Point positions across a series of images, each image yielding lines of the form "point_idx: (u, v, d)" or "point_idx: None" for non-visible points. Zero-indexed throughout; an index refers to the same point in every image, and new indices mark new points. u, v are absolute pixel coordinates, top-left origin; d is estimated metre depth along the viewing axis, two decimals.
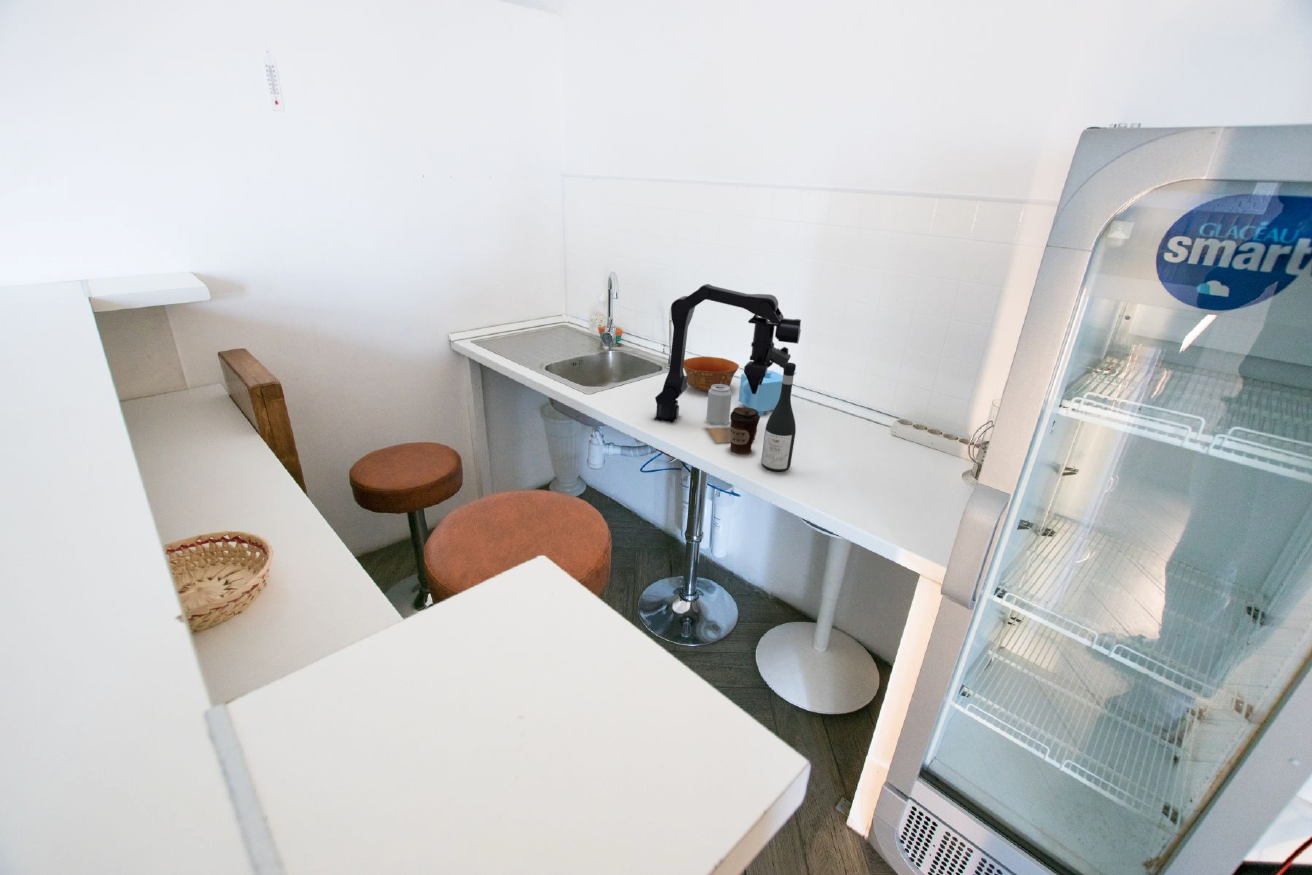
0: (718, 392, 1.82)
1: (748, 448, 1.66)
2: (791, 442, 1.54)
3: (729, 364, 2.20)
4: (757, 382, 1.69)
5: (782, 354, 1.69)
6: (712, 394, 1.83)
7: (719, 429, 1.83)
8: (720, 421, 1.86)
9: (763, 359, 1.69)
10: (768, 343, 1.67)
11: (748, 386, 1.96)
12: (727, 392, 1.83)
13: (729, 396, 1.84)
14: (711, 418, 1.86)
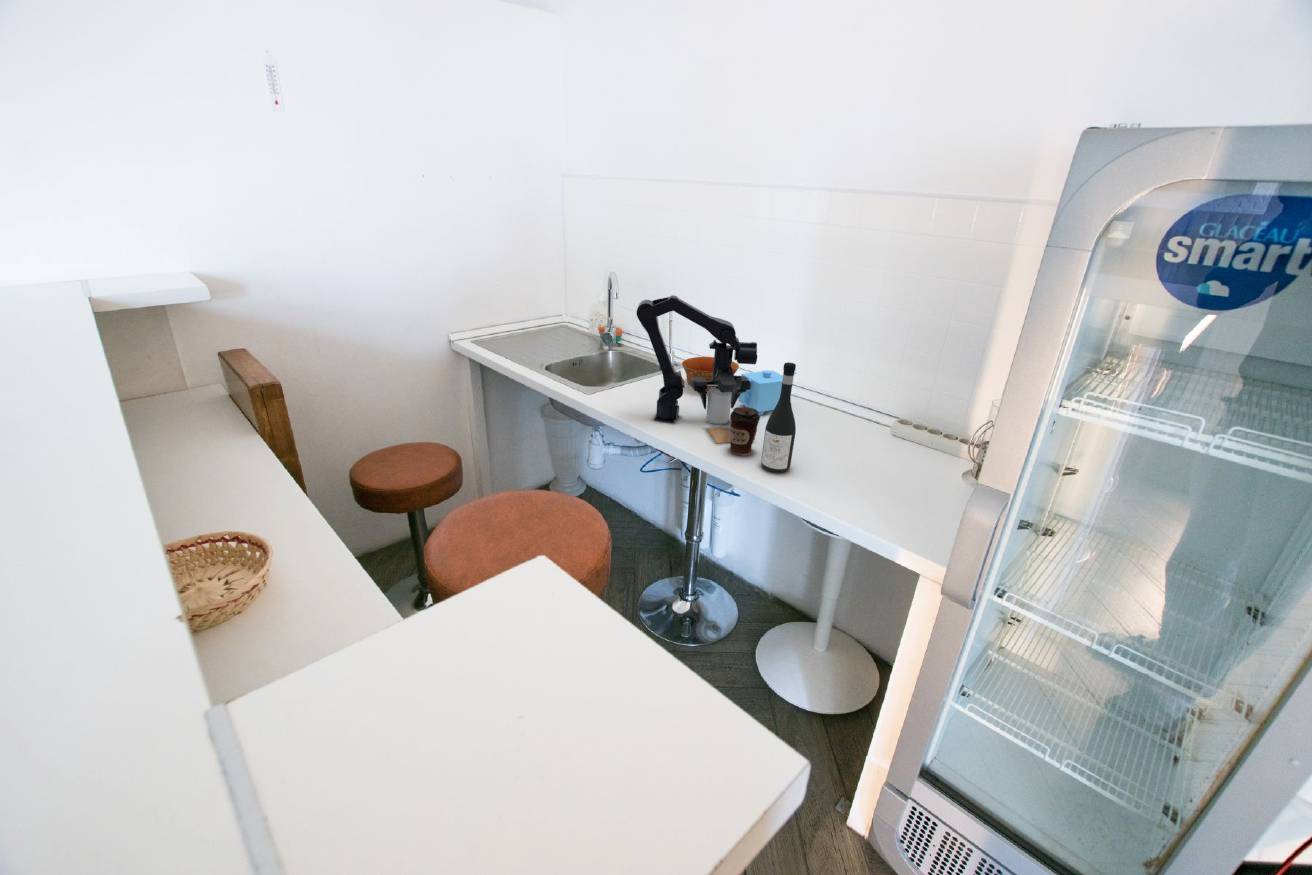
0: (718, 392, 1.82)
1: (748, 448, 1.66)
2: (791, 442, 1.54)
3: None
4: (702, 398, 1.84)
5: (726, 380, 1.77)
6: (712, 394, 1.83)
7: (719, 429, 1.83)
8: (720, 421, 1.86)
9: None
10: (718, 366, 1.80)
11: None
12: (727, 392, 1.83)
13: (729, 396, 1.84)
14: (711, 418, 1.86)
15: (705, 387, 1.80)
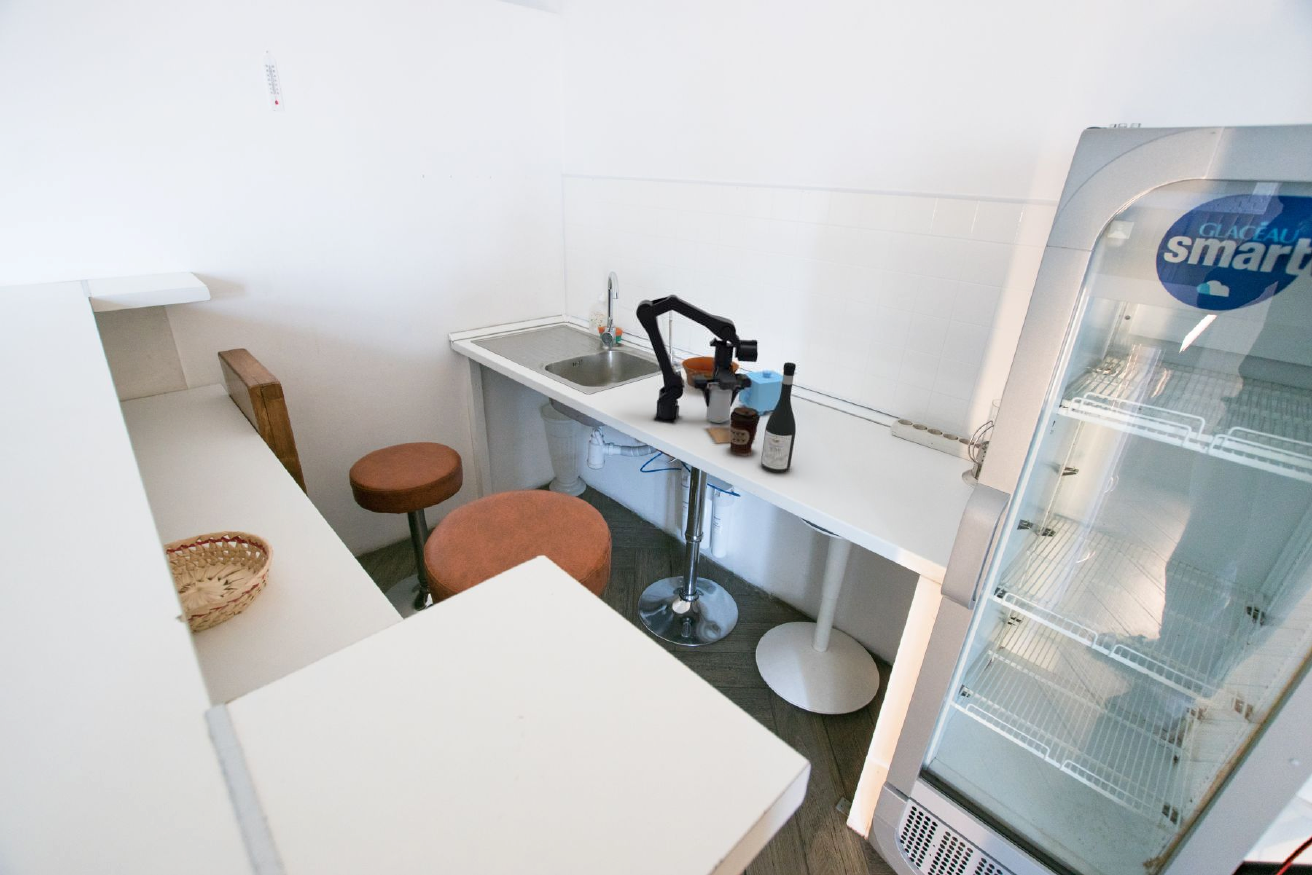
0: (719, 390, 1.82)
1: (748, 448, 1.66)
2: (791, 442, 1.54)
3: None
4: (705, 395, 1.84)
5: (726, 377, 1.77)
6: (713, 392, 1.83)
7: (719, 429, 1.83)
8: (720, 419, 1.86)
9: (715, 377, 1.82)
10: (718, 364, 1.79)
11: None
12: (728, 391, 1.83)
13: (730, 395, 1.83)
14: (711, 416, 1.86)
15: (705, 385, 1.80)
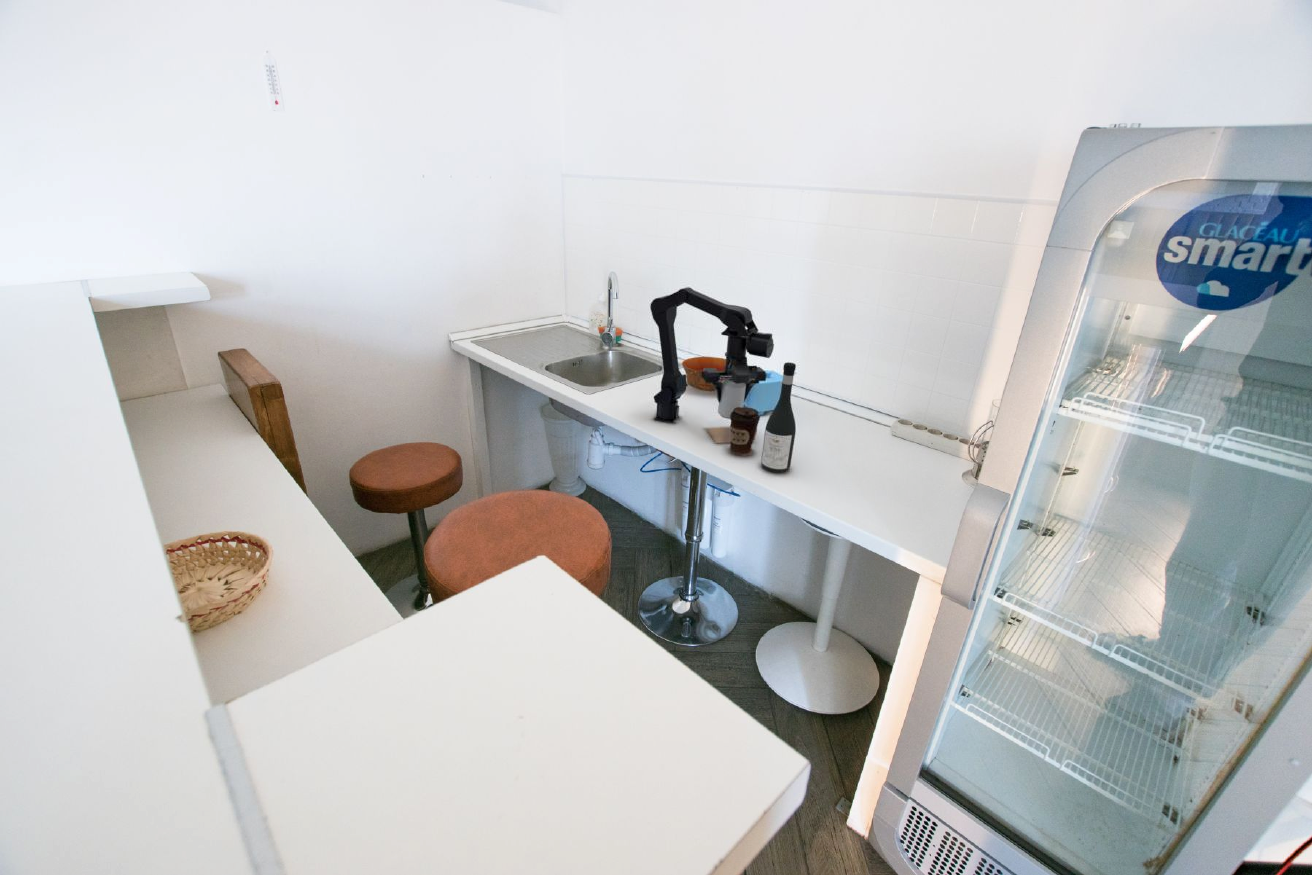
0: (732, 384, 1.70)
1: (748, 448, 1.66)
2: (791, 442, 1.54)
3: None
4: (716, 390, 1.72)
5: (740, 370, 1.65)
6: (726, 386, 1.71)
7: (719, 429, 1.83)
8: None
9: None
10: (731, 355, 1.67)
11: None
12: (741, 384, 1.71)
13: (743, 389, 1.71)
14: (723, 412, 1.74)
15: (718, 378, 1.68)
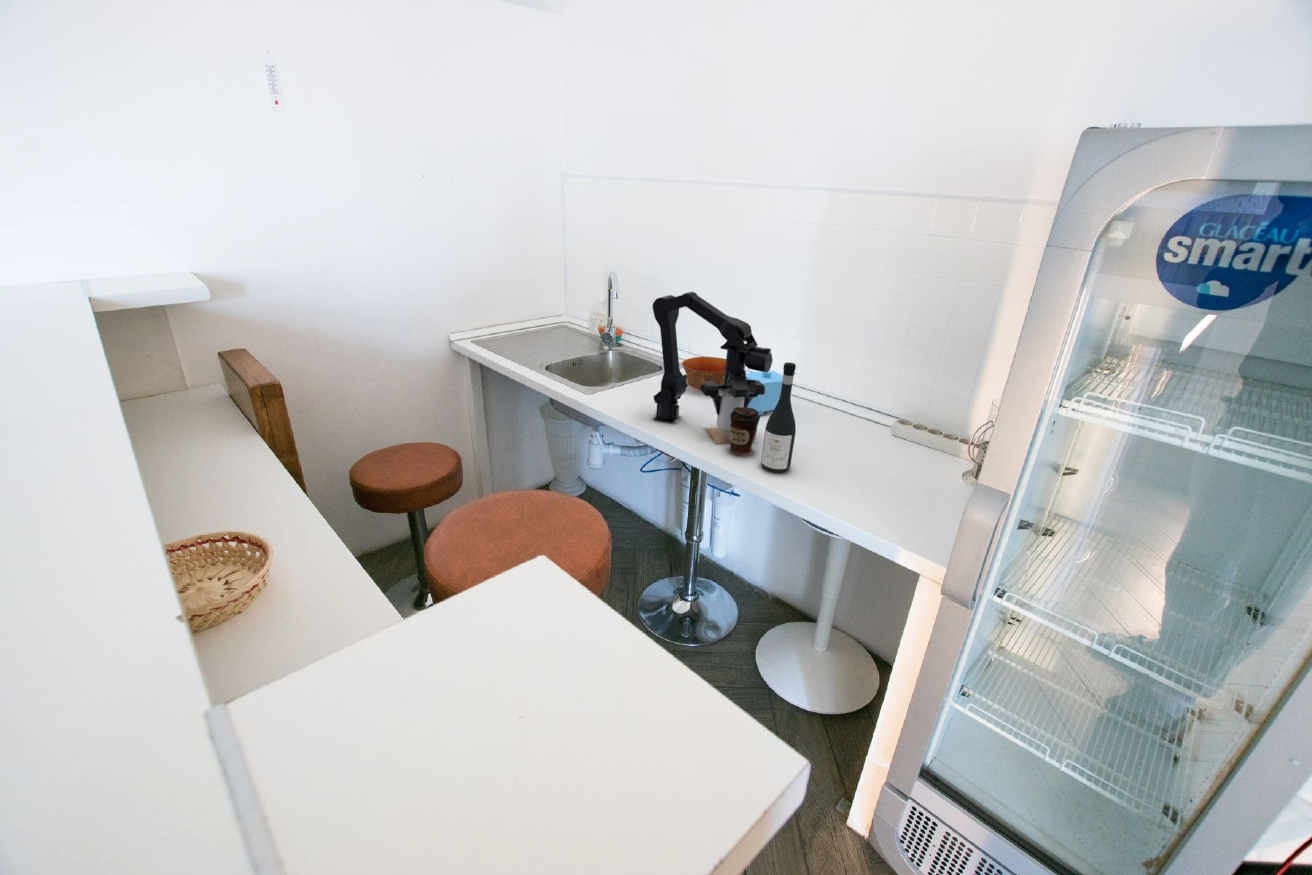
0: (730, 398, 1.71)
1: (748, 448, 1.66)
2: (791, 442, 1.54)
3: None
4: (715, 403, 1.73)
5: (739, 384, 1.66)
6: (724, 399, 1.72)
7: (719, 429, 1.83)
8: None
9: None
10: (730, 369, 1.68)
11: None
12: (740, 398, 1.72)
13: (742, 402, 1.72)
14: (722, 425, 1.75)
15: (716, 392, 1.69)
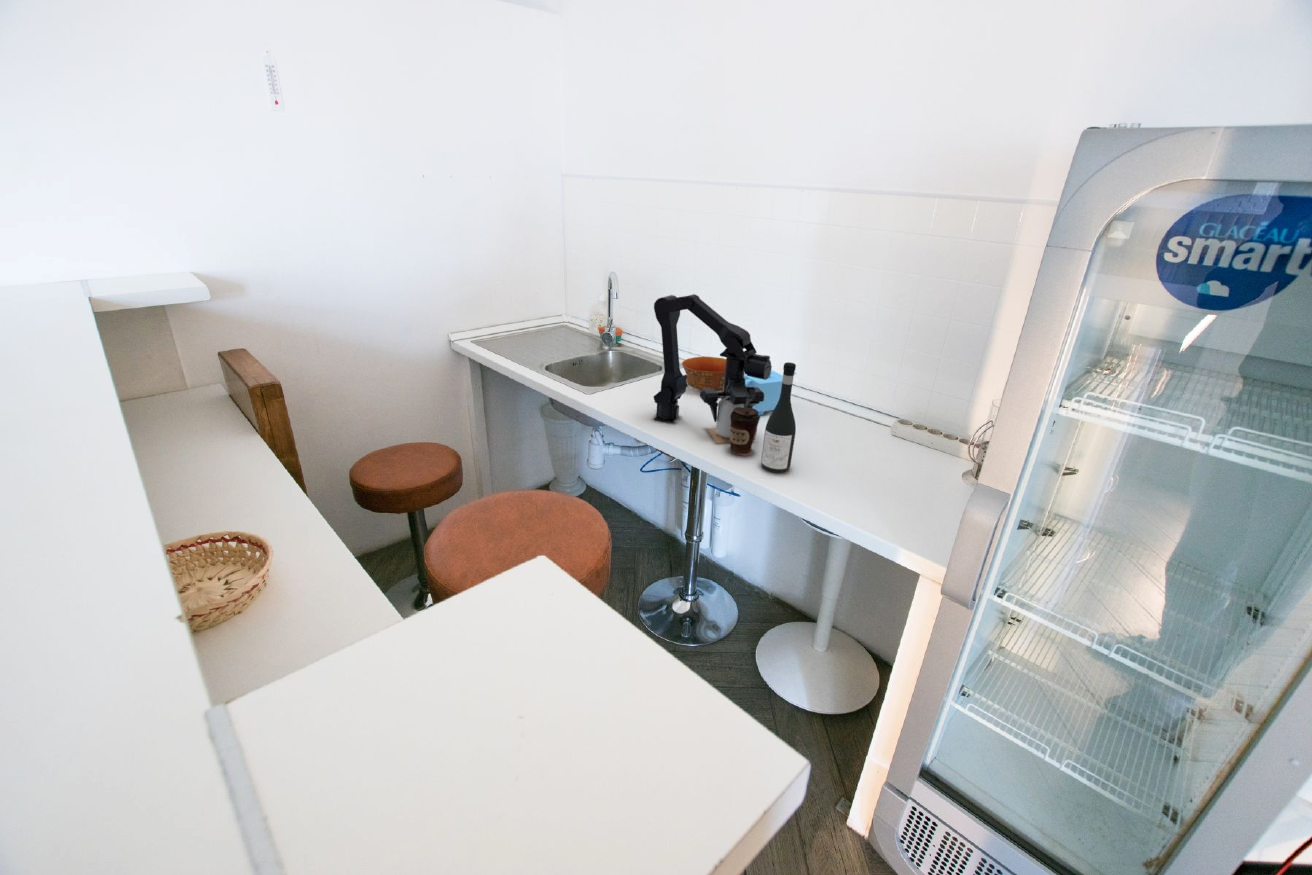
0: (729, 404, 1.72)
1: (748, 448, 1.66)
2: (791, 442, 1.54)
3: None
4: (712, 410, 1.74)
5: (738, 391, 1.67)
6: (723, 406, 1.73)
7: None
8: None
9: (725, 391, 1.72)
10: (729, 377, 1.69)
11: (748, 386, 1.96)
12: (738, 404, 1.73)
13: None
14: (721, 431, 1.76)
15: (716, 399, 1.70)
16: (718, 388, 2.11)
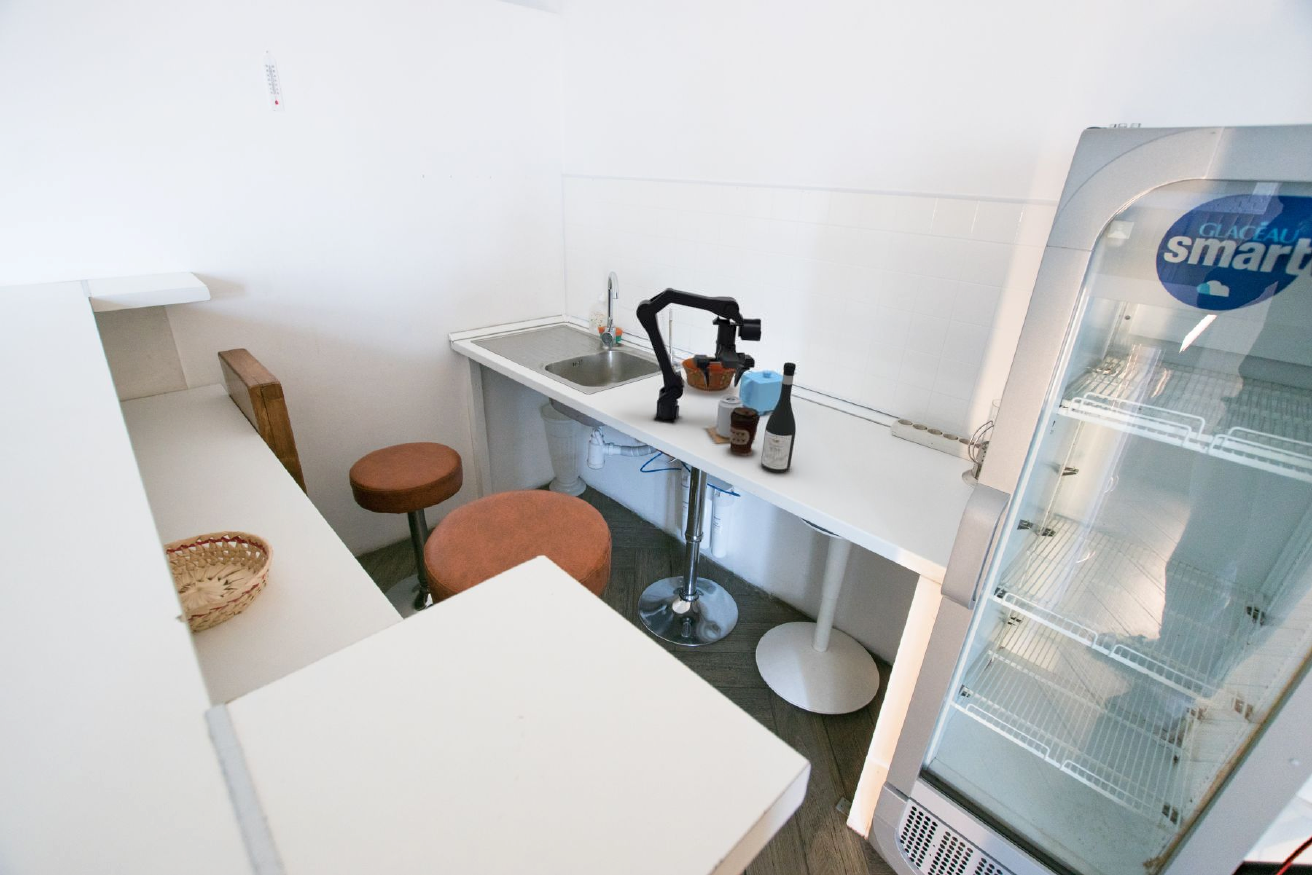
0: (729, 404, 1.72)
1: (748, 448, 1.66)
2: (791, 442, 1.54)
3: None
4: (705, 375, 1.81)
5: (728, 356, 1.74)
6: (723, 406, 1.73)
7: None
8: None
9: None
10: (721, 343, 1.76)
11: (748, 386, 1.96)
12: (738, 404, 1.73)
13: None
14: (721, 431, 1.76)
15: (708, 364, 1.77)
16: (718, 388, 2.11)
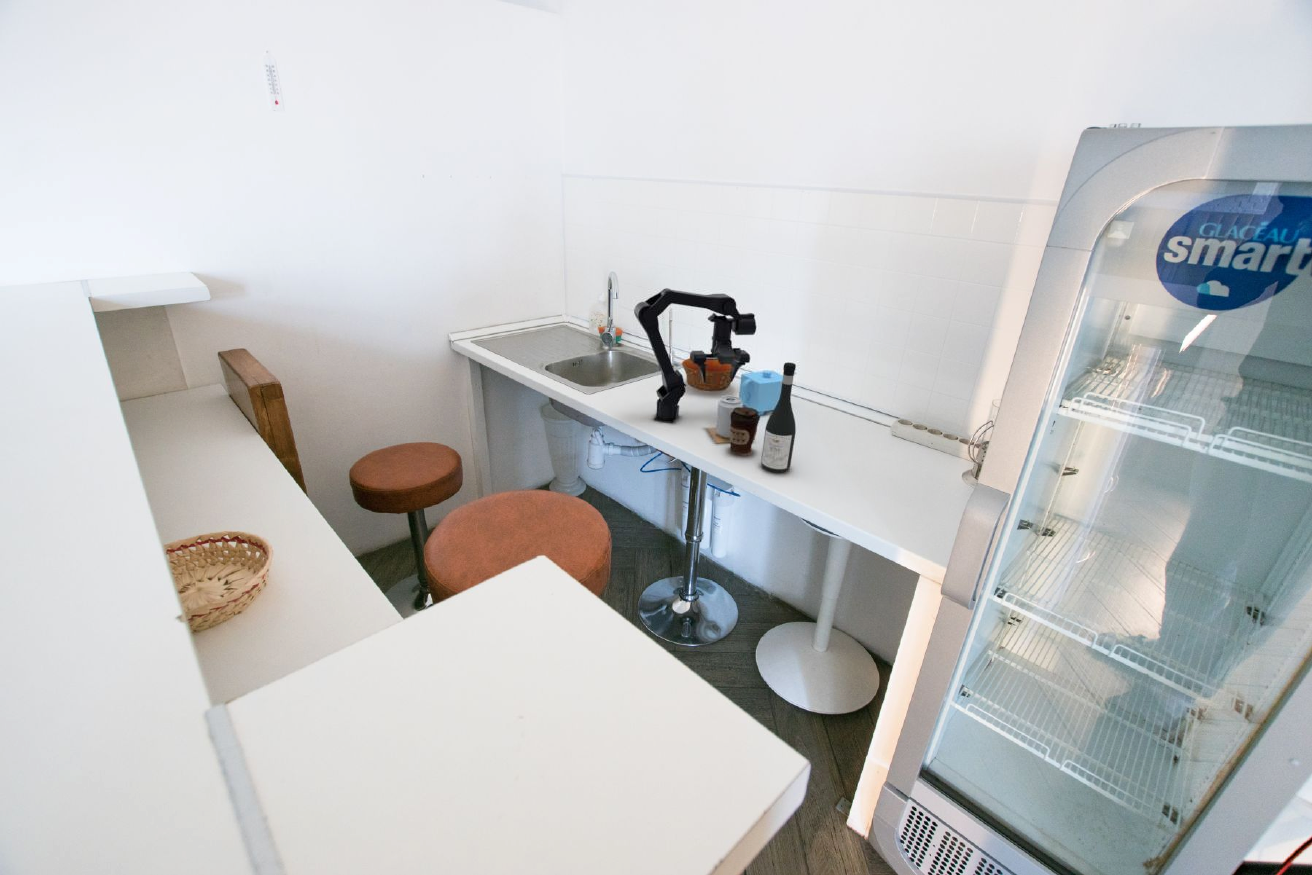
0: (729, 404, 1.72)
1: (748, 448, 1.66)
2: (791, 442, 1.54)
3: (729, 364, 2.20)
4: (701, 371, 1.85)
5: (725, 352, 1.78)
6: (723, 406, 1.73)
7: None
8: None
9: (713, 352, 1.83)
10: (717, 339, 1.81)
11: (748, 386, 1.96)
12: (738, 404, 1.73)
13: None
14: (721, 431, 1.76)
15: (704, 360, 1.81)
16: (718, 388, 2.11)
